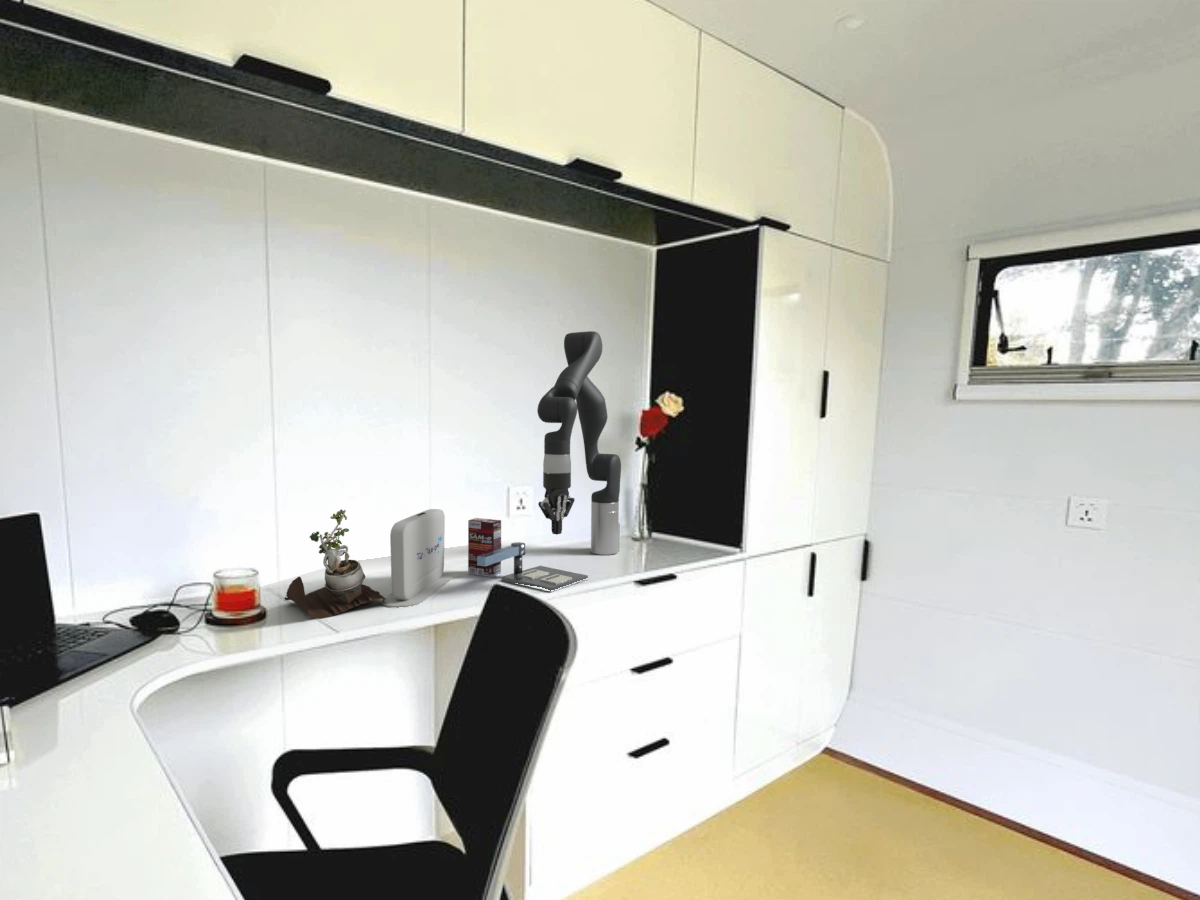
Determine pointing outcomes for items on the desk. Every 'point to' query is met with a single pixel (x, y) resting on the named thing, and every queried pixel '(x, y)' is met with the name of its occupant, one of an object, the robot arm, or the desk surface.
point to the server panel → (541, 576)
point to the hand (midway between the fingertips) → (556, 533)
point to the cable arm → (501, 554)
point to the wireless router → (417, 558)
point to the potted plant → (334, 580)
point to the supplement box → (483, 545)
